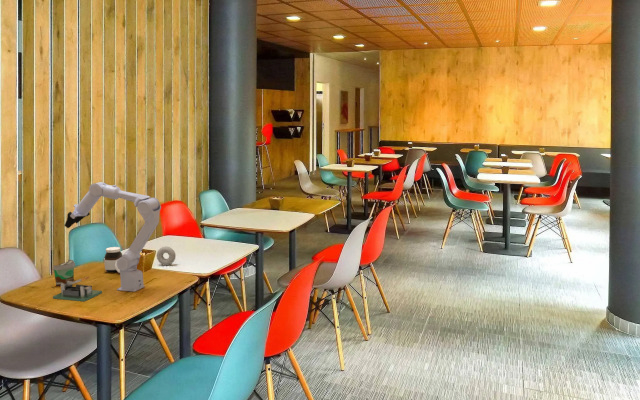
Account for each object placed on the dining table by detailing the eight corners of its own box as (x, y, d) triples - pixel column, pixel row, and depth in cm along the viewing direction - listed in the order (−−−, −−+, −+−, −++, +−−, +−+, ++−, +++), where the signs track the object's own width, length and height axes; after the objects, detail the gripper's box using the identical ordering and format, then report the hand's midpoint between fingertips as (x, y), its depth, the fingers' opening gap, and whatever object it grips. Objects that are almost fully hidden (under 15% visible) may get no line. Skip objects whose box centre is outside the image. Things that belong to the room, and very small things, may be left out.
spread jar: (110, 268, 307) (109, 246, 305) (132, 268, 307) (131, 246, 305) (101, 274, 295) (99, 251, 293) (124, 274, 295) (122, 251, 293)
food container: (66, 287, 274) (64, 266, 273) (54, 286, 276) (52, 265, 274) (81, 280, 286) (80, 259, 285) (70, 279, 287) (68, 259, 286)
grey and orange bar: (64, 287, 262) (63, 284, 262) (67, 285, 264) (66, 283, 264) (86, 279, 258) (85, 277, 258) (89, 278, 260) (88, 275, 260)
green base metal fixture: (53, 298, 258) (52, 286, 258) (71, 290, 270) (70, 278, 269) (84, 301, 254) (83, 288, 253) (102, 293, 265) (101, 280, 265)
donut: (176, 264, 313) (176, 245, 312) (174, 266, 310) (174, 247, 309) (158, 264, 314) (157, 245, 313) (156, 265, 311) (155, 247, 309)
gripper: (88, 193, 276) (72, 214, 280) (72, 201, 263) (55, 223, 266) (99, 203, 277) (83, 224, 281) (84, 212, 263) (67, 233, 267)
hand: (70, 224), depth 273 cm, fingers open, 7 cm apart
